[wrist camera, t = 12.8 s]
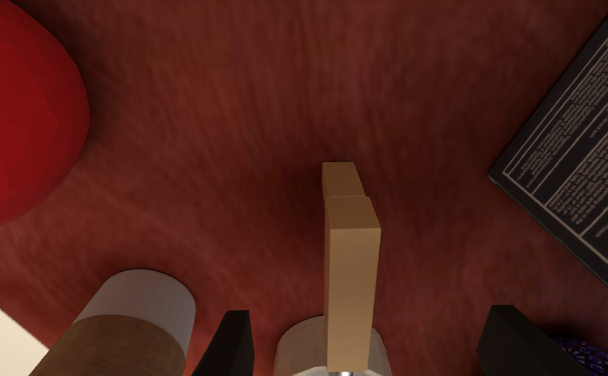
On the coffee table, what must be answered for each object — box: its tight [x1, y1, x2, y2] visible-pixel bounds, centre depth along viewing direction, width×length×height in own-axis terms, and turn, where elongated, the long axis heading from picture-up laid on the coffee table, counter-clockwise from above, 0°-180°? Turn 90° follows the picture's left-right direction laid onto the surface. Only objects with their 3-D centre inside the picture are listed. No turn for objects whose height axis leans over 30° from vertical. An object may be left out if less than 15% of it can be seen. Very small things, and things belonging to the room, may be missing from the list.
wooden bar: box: [305, 162, 381, 376], centre depth 19 cm, size 16×4×6 cm, turn 1°
